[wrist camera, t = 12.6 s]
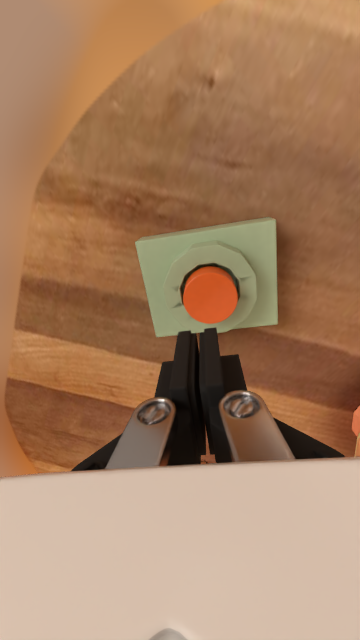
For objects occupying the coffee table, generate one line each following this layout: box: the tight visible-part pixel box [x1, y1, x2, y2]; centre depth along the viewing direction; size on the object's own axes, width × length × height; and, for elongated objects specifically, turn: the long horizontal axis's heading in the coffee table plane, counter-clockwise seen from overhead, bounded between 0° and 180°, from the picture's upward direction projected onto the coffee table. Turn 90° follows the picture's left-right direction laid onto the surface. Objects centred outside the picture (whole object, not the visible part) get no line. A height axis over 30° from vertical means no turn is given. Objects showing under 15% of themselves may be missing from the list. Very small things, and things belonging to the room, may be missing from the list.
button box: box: [135, 217, 278, 337], centre depth 21 cm, size 10×8×4 cm
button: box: [183, 266, 238, 324], centre depth 19 cm, size 4×4×2 cm
